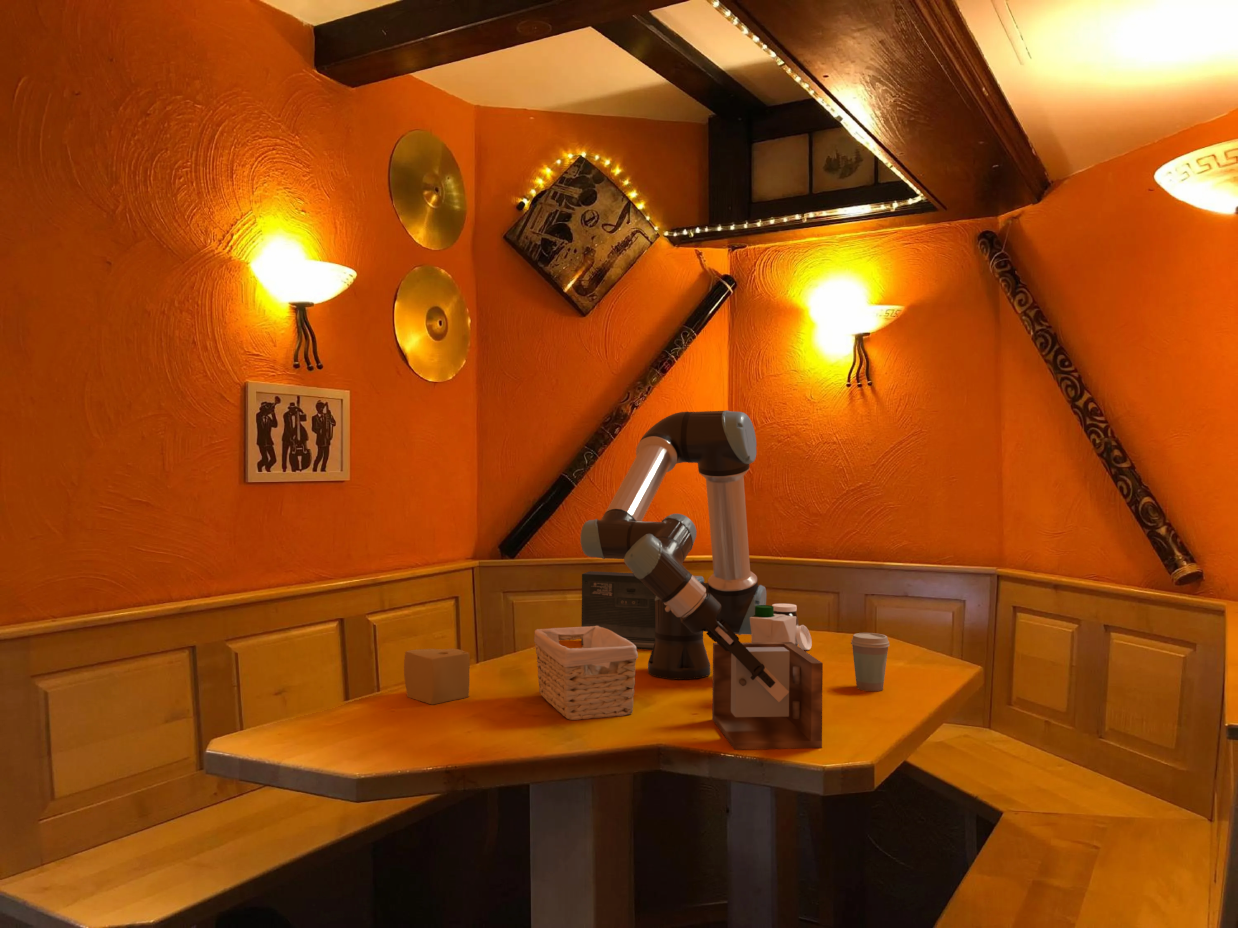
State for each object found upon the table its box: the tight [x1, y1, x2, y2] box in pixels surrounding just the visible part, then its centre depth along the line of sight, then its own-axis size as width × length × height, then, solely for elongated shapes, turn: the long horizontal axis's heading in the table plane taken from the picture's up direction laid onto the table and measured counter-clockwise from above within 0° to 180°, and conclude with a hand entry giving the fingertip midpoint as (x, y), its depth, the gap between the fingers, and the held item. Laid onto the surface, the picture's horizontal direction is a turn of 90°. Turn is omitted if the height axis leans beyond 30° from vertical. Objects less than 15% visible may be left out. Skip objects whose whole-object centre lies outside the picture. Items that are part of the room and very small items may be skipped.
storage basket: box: [533, 626, 639, 721], centre depth 200 cm, size 24×16×15 cm
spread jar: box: [771, 603, 813, 651], centre depth 264 cm, size 12×11×12 cm
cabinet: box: [711, 642, 824, 751], centre depth 180 cm, size 16×20×15 cm
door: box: [731, 647, 790, 717], centre depth 176 cm, size 10×5×12 cm, turn 96°
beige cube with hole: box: [403, 648, 470, 706], centre depth 205 cm, size 10×11×10 cm
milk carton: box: [750, 604, 796, 644], centre depth 206 cm, size 9×9×20 cm
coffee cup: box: [850, 632, 890, 692], centre depth 217 cm, size 9×8×12 cm
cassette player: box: [580, 571, 656, 651], centre depth 264 cm, size 29×7×20 cm, turn 73°
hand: (779, 693), depth 177 cm, fingers closed on door, 4 cm apart
